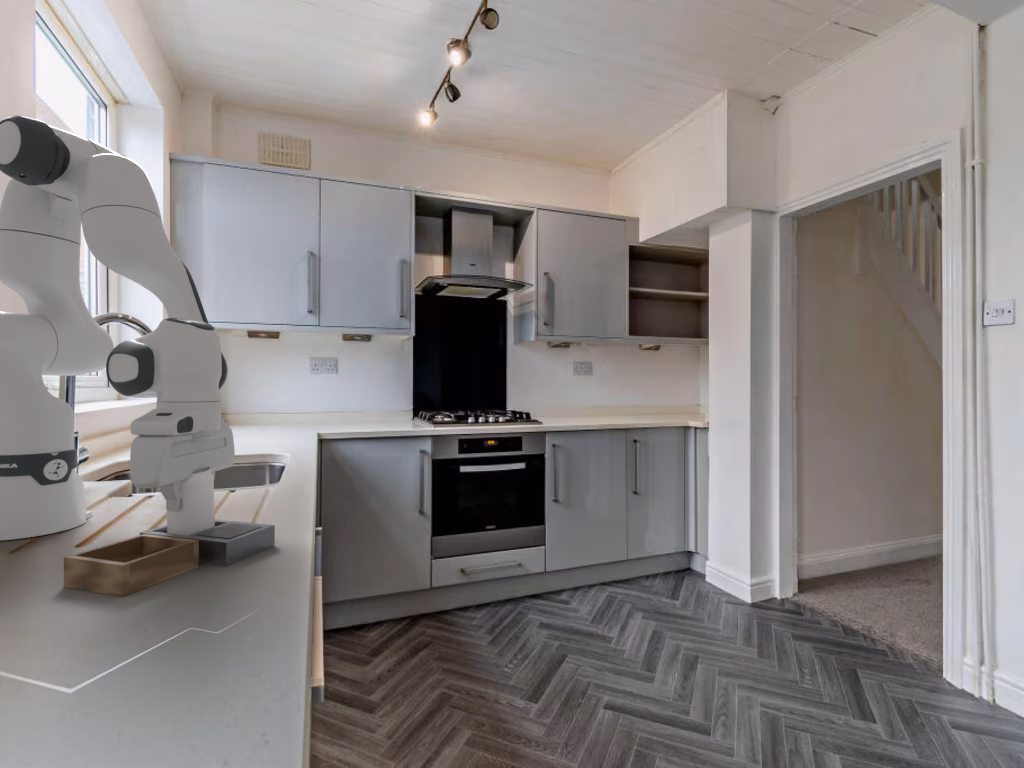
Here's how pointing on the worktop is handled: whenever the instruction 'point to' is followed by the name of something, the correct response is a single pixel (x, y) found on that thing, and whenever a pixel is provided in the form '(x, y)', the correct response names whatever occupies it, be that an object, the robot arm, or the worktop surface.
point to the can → (194, 505)
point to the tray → (227, 541)
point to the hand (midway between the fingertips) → (189, 505)
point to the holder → (130, 564)
